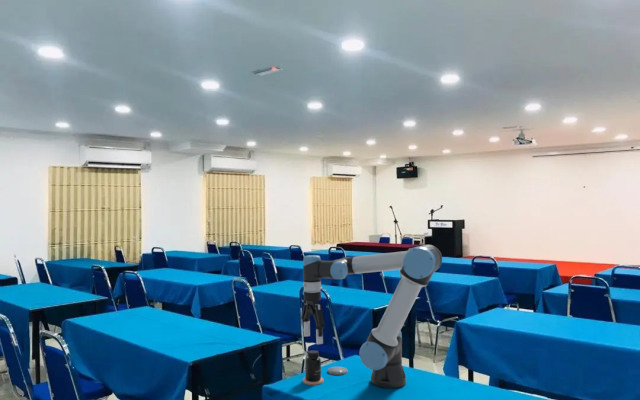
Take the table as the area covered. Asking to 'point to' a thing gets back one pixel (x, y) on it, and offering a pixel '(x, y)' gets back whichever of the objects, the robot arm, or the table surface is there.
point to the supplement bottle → (313, 366)
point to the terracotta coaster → (312, 382)
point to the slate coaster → (337, 370)
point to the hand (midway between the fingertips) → (313, 340)
